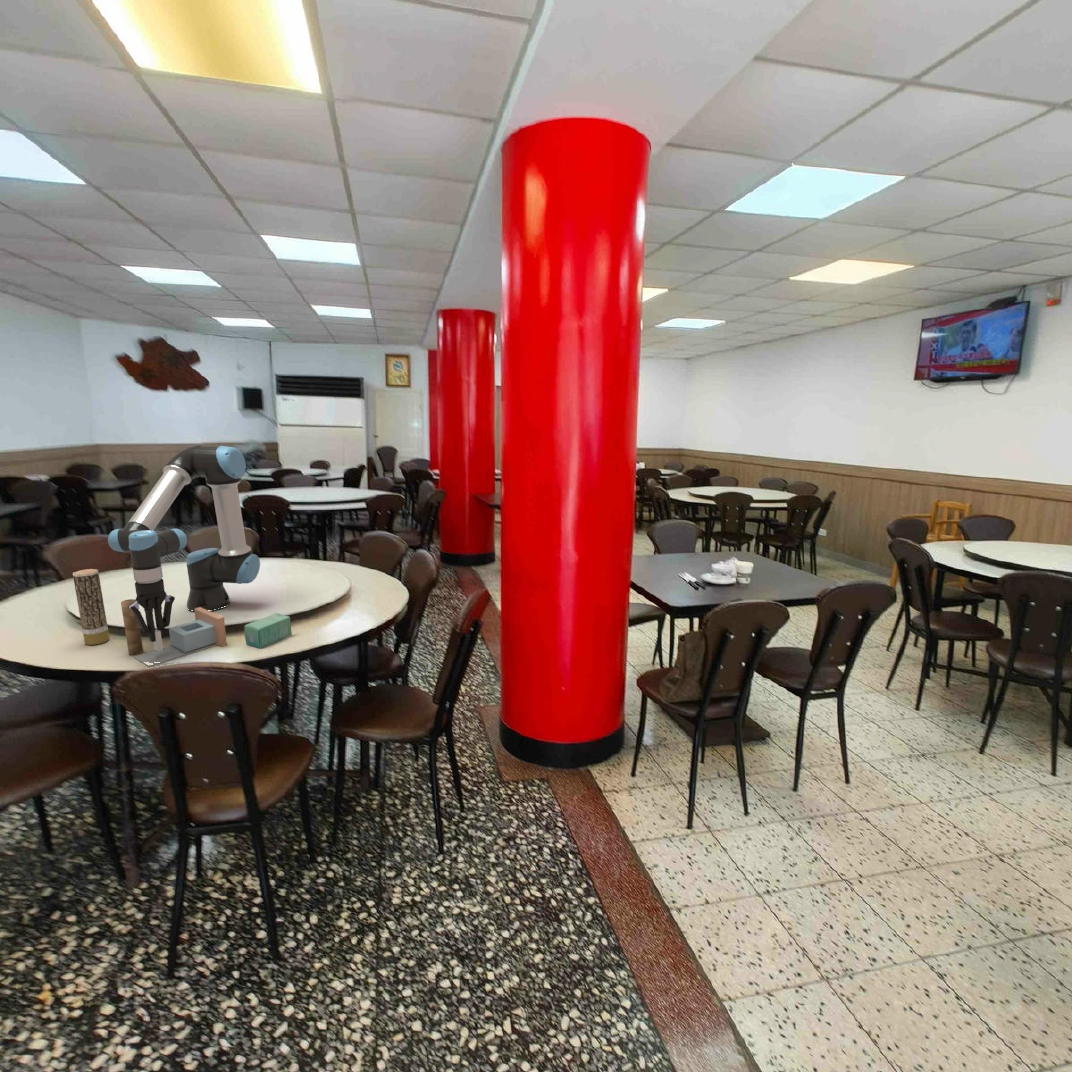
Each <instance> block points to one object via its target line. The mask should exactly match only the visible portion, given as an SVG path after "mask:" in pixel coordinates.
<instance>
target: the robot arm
mask: <svg viewBox="0 0 1072 1072" xmlns="http://www.w3.org/2000/svg"><path fill="white" fill-rule="evenodd" d="M246 470H247V465H246V459H245V456H244V455H243V454H242V452H241V451H240V450H239V449H238V448H236V447H233V446H225V445H191V446H188V447H186V448H184V449H182V450H181V451H178V452H177V453H176V454H175V455H173V457H171V458H170V459H169V460H168V461H167V462H166V464H165V465H164V466H163V468H162V473H163V474H162V475H160V476H161V477H160V478H159V479H158V480H157V482H156V483H155V485H154V486H153V488H152V489H151V490H150V492H149V493H148V494H147V496H145V499H144V500H143V501H142V503H141V504H140V505H139V506H138V508H137V510H136V511H135V512H134V513H133V515H132V516H131V518H130V519H129V521H127V523H126V524H125V526H124V527H123V528H116V529H113V530H112V531H110V533H109V534H108V537H107V543H108V546H109V547H110V549H112V550H113V551H115V552H120V553H121V552H122V553H126V554H127V553H128V554H129V553H130V559H131V565H132V573H133V580H134V581H135V582H134V588H135V589H134V590H135V593H136V597H135V600H136V602H135V603H133V604H132V605H129V606H128V608H129V609H130V610H131V611H132V612H133V614H134V616H135V618H136V620H137V622H138V624H139V626H140V631H142V632H144V633H146V634H147V633H148V637H149V641H150V642H152V644H153V649H154V650H157V651H160V650H163V648H164V646H163V639H165V630H166V628H167V627H168V628H169V626H170V623H171V616H172V611H173V604H174V602H175V600H176V597H175V596H173V595H170V594H169V595H168V594H167V592H166V591H165V584H164V583H165V582H164V579H163V577H164V575H163V569H162V562H161V558H162V557H165V556H169V555H171V554H173V553H177V552H179V551H180V550H183V549H184V548H185V547H186V546H187V544H188V537H187V535H186V533H185V532H184V531H183V530H182V529H180V528H168V529H166V530H156V528H157V526H158V524H159V523H160V521H162V519H163V518H164V516H165V514H166V513H167V512H168V510H169V509H170V507H171V506H172V504H173V503H174V501H175V500H176V498H177V497H178V496H179V494H180V492H182V490H183V488H184V487H185V486H186V485H189V484H190V483H191V482H192V480H194V479H196V478H199V477H200V478H205V483H206V486H208V487H210V488H211V492H212V497H213V501H214V502H213V504H214V509H215V516H216V522H217V529H218V534H219V540H220V545H221V548H218V547H208V548H203V549H198V550H194V551H192V552H190V553H188V554H187V555H186V570H187V577H188V585H189V593H188V597H187V602H186V608H188V609H189V610H193V611H194V609H195V608H199V607H201V608H203V609H206V610H214V609H218V608H221V607H224V606H227V605H228V606H230V605H231V599H230V596H229V594H228V592H227V591H226V588H225V586H224V583H226V584H239V585H242V584H250V583H253V581H254V580H255V579H256V578H257V576H258V574H259V572H260V567H261V560H260V558H259V556H258V555H257V554H255V553H253V552H252V547H251V546H250V545H248V544H247V541H246V534H245V527H244V521H243V515H242V508H241V501H240V496H239V489H238V488H239V487H238V486H239V484H241V482H242V478H243V477H244V476H245V474H246ZM164 601H165V602H164ZM163 603H164V606H163V605H162V604H163ZM140 606H141V607H142V608H143V611H144V614H145V615H144V616H145V618H144V617H143V615H142V613H141V610H139V609H140ZM162 606H163V607H162ZM228 606H227V607H228ZM188 609H187V610H188ZM162 610H163V612H162ZM189 610H188V611H189ZM154 619H155V620H154ZM155 626H156V628H155Z"/></svg>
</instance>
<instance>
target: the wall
mask: <svg viewBox="0 0 1072 1072" xmlns="http://www.w3.org/2000/svg"><path fill="white" fill-rule="evenodd" d="M194 611H195V612H194V617H195V620H199V619H200V620H202V621H204V622H207V623H209V624H211V625H213V626H214V627H215V636H216V644H217V645H216V646H219V647H222V648H223V647H224V646H227V645H228V643H227V641H228V640H227V633H226V626H225V625H226V624H225V617H223V616H222V615H219V614H216V613H214V612H213V611H208V610H206V609H203V608H201V607H199V608H195V609H194Z"/></svg>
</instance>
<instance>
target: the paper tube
mask: <svg viewBox="0 0 1072 1072" xmlns="http://www.w3.org/2000/svg"><path fill="white" fill-rule="evenodd" d="M99 572H100V571H99V570H98V569H96V568H95V569H94V568H89V569H88V568H87V569H80V570H77V571H74V572H72V577H73V583H74V589H75V595H76V601H77V606H78V607H77V608H78V612H79V618H80V622H81V629H82V635H83V640H84V643H85V644H86V645H88V646H95V645H100V644H103V643H106V642H107V641H109V639H110V634H109V628H108V627H109V626H108V622H107V616H106V610H105V603H104V598H103V592H102V584H101V578H100V573H99Z"/></svg>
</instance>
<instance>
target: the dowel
mask: <svg viewBox="0 0 1072 1072" xmlns="http://www.w3.org/2000/svg"><path fill="white" fill-rule="evenodd" d="M135 602H136V598H135V599H134V598H133V599H130V598H129V599H125V600H122V601H120V606H121V612H122V619H123V625H124V632H125V633H124V634H125V639H126V644H127V652H128V655H129V656H134V657H135V656H138V655H141V654H144V647H143V646H144V645H143V638H142V632H141V629H140V626H139V624H138V622H137V620H136V618H135V616H134V614H133V612H132V611H131V610H130V609H129V608H128V606H129V605H132V604H133V603H135Z"/></svg>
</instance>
